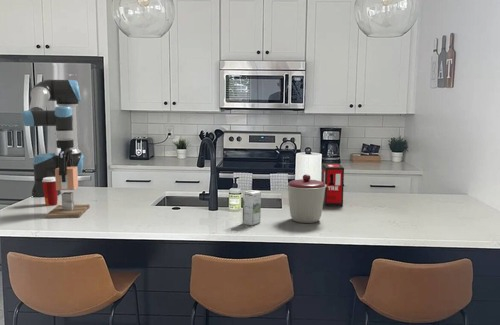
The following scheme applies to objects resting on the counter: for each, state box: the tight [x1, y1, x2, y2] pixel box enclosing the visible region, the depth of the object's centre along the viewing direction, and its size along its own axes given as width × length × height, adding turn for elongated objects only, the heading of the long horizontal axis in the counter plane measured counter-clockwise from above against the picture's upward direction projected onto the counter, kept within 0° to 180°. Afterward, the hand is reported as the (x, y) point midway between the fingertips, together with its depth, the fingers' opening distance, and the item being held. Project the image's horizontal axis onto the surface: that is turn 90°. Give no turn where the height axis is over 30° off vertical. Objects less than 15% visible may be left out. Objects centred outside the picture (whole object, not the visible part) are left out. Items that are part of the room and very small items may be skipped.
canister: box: [285, 174, 327, 224], centre depth 206 cm, size 18×18×21 cm
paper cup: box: [42, 177, 59, 207], centre depth 236 cm, size 8×8×14 cm
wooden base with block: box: [44, 191, 90, 219], centre depth 220 cm, size 20×15×10 cm
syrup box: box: [242, 189, 262, 227], centre depth 201 cm, size 6×6×14 cm
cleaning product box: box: [321, 162, 345, 207], centre depth 242 cm, size 16×9×20 cm, turn 179°
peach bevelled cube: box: [55, 167, 79, 191], centre depth 218 cm, size 8×8×10 cm
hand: (67, 186), depth 219 cm, fingers closed on peach bevelled cube, 8 cm apart
